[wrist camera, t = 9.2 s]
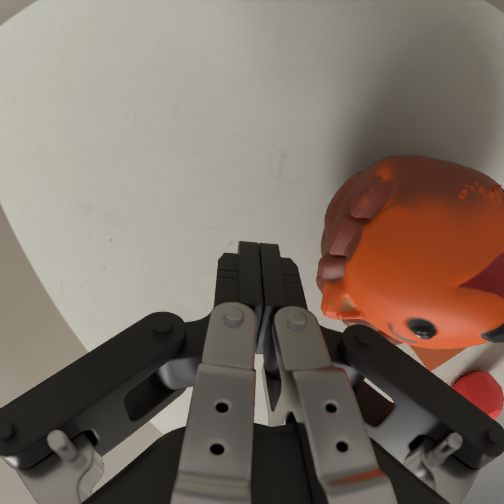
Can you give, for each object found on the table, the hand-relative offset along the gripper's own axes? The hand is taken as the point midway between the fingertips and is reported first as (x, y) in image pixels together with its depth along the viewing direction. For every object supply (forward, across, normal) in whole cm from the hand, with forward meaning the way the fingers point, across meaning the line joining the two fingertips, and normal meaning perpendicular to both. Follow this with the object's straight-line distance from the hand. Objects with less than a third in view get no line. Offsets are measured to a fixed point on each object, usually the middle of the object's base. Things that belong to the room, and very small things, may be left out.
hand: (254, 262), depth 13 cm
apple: (+6, -30, +20) cm, 37 cm away
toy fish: (+6, -9, 0) cm, 11 cm away
